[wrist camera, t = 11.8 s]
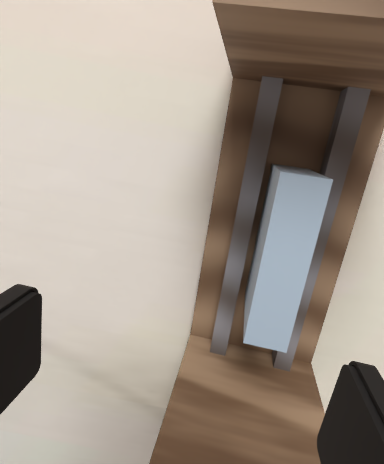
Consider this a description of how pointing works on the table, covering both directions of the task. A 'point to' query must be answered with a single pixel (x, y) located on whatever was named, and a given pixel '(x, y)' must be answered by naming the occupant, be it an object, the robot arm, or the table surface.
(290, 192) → the door panel
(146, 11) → the table surface
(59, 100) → the table surface
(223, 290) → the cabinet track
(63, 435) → the table surface
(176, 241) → the table surface
